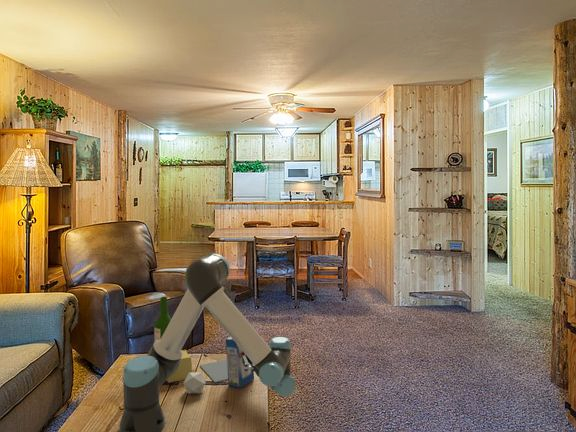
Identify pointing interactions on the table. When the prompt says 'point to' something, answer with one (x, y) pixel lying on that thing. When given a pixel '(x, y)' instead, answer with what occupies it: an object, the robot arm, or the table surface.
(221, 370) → the slate mat
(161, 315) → the wine bottle
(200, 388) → the die
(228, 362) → the milk carton
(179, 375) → the cheese
